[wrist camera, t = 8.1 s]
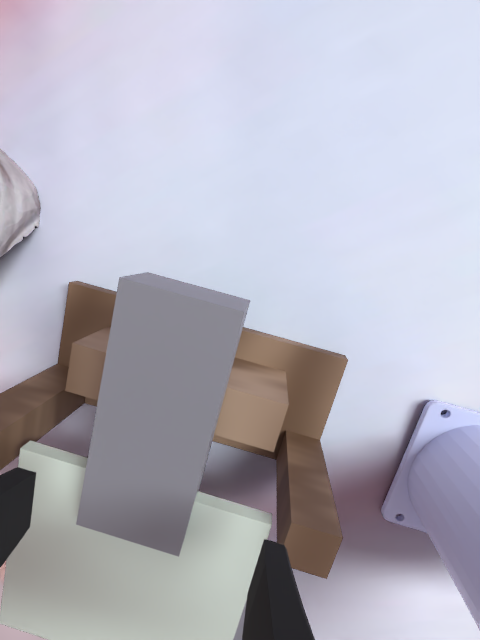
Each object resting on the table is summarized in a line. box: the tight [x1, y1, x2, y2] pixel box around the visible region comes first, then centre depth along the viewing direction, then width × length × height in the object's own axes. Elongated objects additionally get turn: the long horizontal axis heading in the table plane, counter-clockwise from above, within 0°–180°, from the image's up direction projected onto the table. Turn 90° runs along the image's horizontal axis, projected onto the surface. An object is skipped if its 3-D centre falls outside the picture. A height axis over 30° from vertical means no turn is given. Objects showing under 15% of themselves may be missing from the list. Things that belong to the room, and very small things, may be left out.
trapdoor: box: [0, 272, 272, 640], centre depth 15 cm, size 11×18×3 cm, turn 165°
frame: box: [0, 281, 348, 579], centre depth 16 cm, size 16×7×8 cm, turn 75°
